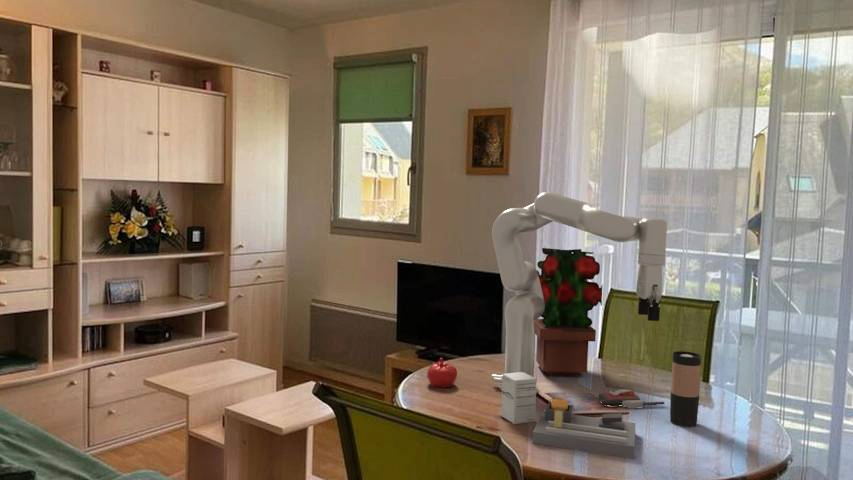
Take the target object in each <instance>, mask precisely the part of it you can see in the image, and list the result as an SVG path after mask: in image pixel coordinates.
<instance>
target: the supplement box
mask: <svg viewBox="0 0 853 480" xmlns="http://www.w3.org/2000/svg"><path fill="white" fill-rule="evenodd" d="M502 375H503V376H502V391H501V401H500V403H501V404H500V416H501V417H502V418H504V419H505V420H506V421H509V422H510V423H512V424H513V425H516V424H517V425H519V424H526V423H533V422H535V421H536V406H537V405H536V399H537V393H536V386H537V383H538V382H537V380H538V379H537V378H535V377H532V376H530V375H528V374H526V373H524V372H516V373H506V374H505V373H503V374H502Z"/></svg>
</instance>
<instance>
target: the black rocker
mask: <svg viewBox="0 0 853 480" xmlns="http://www.w3.org/2000/svg"><path fill="white" fill-rule="evenodd" d="M601 418H602V422H603V423H607V422H622V421H623V413H602V416H601Z"/></svg>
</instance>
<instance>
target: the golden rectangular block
mask: <svg viewBox="0 0 853 480" xmlns="http://www.w3.org/2000/svg"><path fill="white" fill-rule="evenodd" d="M563 420H564V408H561V407H556V409H555V416H554V428H560V429H562V428H563Z"/></svg>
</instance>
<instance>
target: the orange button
mask: <svg viewBox="0 0 853 480" xmlns="http://www.w3.org/2000/svg"><path fill="white" fill-rule="evenodd" d="M550 403H551V409H552V410H555V409H556V407H561V408H564V411H567V412H568V405H569V400H568V399H566V398H563V397H553V398H552V399H551V402H550Z"/></svg>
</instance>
